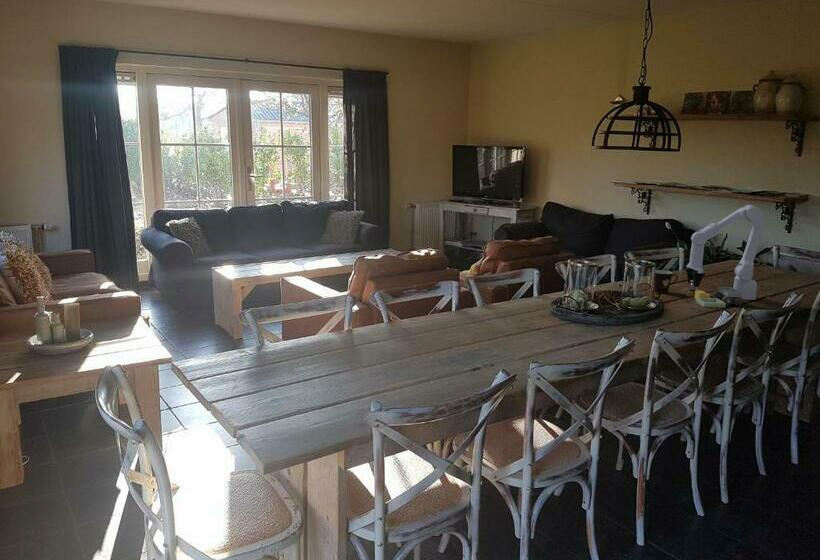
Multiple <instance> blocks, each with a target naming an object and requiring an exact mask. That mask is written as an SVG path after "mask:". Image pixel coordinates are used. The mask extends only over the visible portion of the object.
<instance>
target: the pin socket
mask: <svg viewBox="0 0 820 560" xmlns="http://www.w3.org/2000/svg"><path fill="white" fill-rule="evenodd" d="M696 291H701V290H700V289H698V288H696ZM682 294H684V295H685V296H687V297H695V292H690V288H683V289H682Z"/></svg>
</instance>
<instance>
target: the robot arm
mask: <svg viewBox="0 0 820 560" xmlns="http://www.w3.org/2000/svg"><path fill="white" fill-rule="evenodd" d="M739 220H740V221H742V220H743V221H745V220H747V221H749V223H750V224H751V227H752V228H751V230H750V233H749V237H748V240H747V243H746V246H745V249H744V251H743V255H742V258H741V259H740V261H739V262H738V265H736V266H735V268H734V274H735V276H734V280H733V281H734V282H733V287H732V288H734V289H736V290H738V291H740V292H741V298H743V300H747V301H749V300H750V301H752V300H753V301H754V300H757V296H756V295H757V289H758V284H757V282H756V280H755V279H752V278H753V277H754V267H755V266H754V263H755V262H754V260H755V258H756V255H757V253H758V249H759V246H760V243H761V240H762V237H763V234H764V232H765V228H766V226H767V225H766V222H765V218H764V213H763V211H762V210H761V209H760V208H759V207H757V206H755V205H753V204H746V205H744V206H743V207H740V208H738V209H737V210H735V211H734V212H731V213H730V214H729V215H727V216H726V217H725V218H724V217H723V219H722V220H720V221H718V222H712V223H711V222H710V223H708V224H707V226H705V227H703V228H702V229H700V228H699V229H698V231H696V232H694V233H693V234H692V235H691V237H690V240H691V246H690V247H691V248H690V252H689V254H690V255H689V262H688V263H687V265H686V268H684V271H685V273H686V276H687V283H688V284H691V280H694V287H696V288H698V287H700V285H701V283H702V280H703V278H704V277H705V275H706V273H705V272H704V269H703V260H704V253H705V252H704V251H705V244H706V243H707V241H708V240H711V239H713V238H714V237H716V236H717V235H719V234H720V233H721V231H722V230H723V228H726V227H727V226H729V225H732V224H733V223H734V222H736V221H739Z"/></svg>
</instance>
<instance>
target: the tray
mask: <svg viewBox="0 0 820 560" xmlns="http://www.w3.org/2000/svg"><path fill="white" fill-rule="evenodd" d="M695 302H696V304H699V306H701V307H702V308H718V309H719V308H722V309H724V308H726V306H727V305H726V303H724V302H723V301H722V300H719V299H718V298H714V297H710V298H696V299H695Z"/></svg>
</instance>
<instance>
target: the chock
mask: <svg viewBox="0 0 820 560" xmlns="http://www.w3.org/2000/svg"><path fill="white" fill-rule="evenodd" d="M696 298H711V295H710V294H709V293H707V292H705V291H703V290H700V291H695V296H694V299H695V300H696Z"/></svg>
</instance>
